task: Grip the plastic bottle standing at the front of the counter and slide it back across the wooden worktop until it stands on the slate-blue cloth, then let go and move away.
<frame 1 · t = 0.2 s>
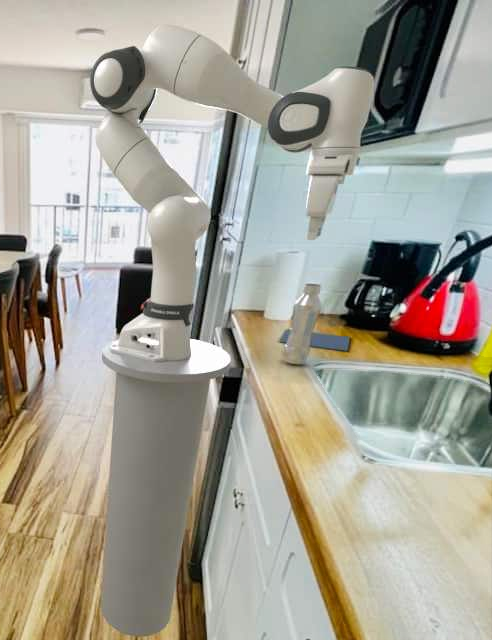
hand: (313, 238, 106), 31 cm above the worktop, tool pointing down, fingers open, 8 cm apart
plastic bottle: (293, 363, 127), on the worktop
cloth: (315, 340, 146), on the worktop
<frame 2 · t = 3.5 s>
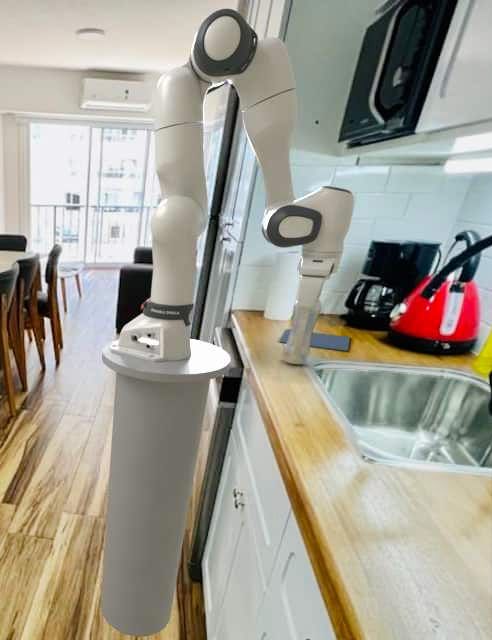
hand: (304, 321, 122), 11 cm above the worktop, tool pointing down, fingers closed on plastic bottle, 6 cm apart
plastic bottle: (293, 363, 127), on the worktop, touching gripper
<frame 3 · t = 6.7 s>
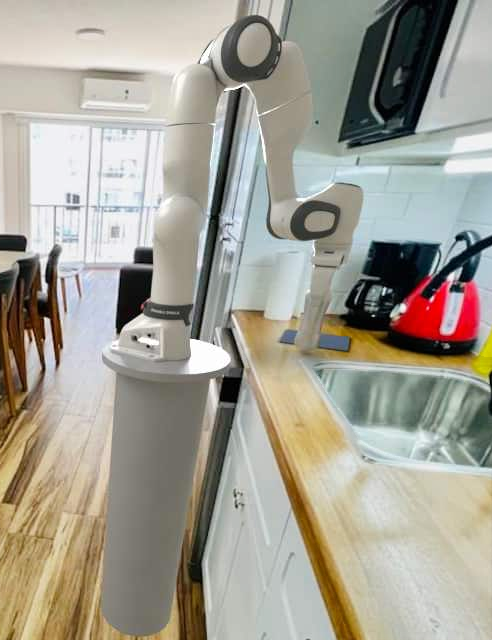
hand: (315, 309, 130), 12 cm above the worktop, tool pointing down, fingers closed on plastic bottle, 6 cm apart
plastic bottle: (304, 350, 135), point 1 cm above the worktop, touching gripper
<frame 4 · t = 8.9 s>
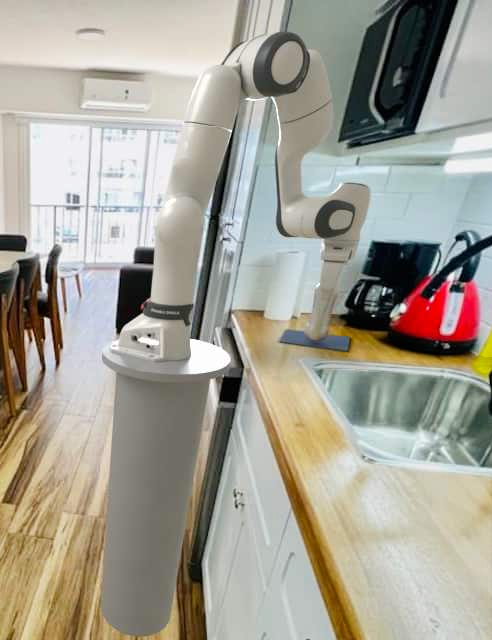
hand: (324, 302, 137), 12 cm above the worktop, tool pointing down, fingers closed on plastic bottle, 6 cm apart
plastic bottle: (313, 341, 143), point 1 cm above the worktop, touching gripper
when the fingers open (11 cm above the worktop, at t = 10.3 s): plastic bottle stays where it is, resting on cloth.
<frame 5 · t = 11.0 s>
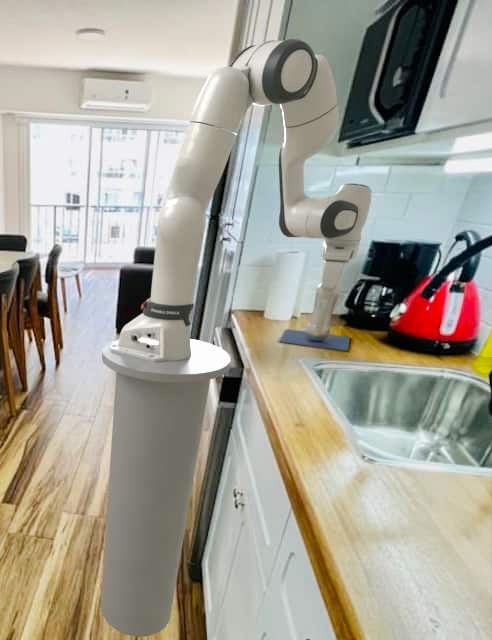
hand: (325, 301, 140), 12 cm above the worktop, tool pointing down, fingers open, 8 cm apart
plastic bottle: (314, 340, 146), resting on cloth
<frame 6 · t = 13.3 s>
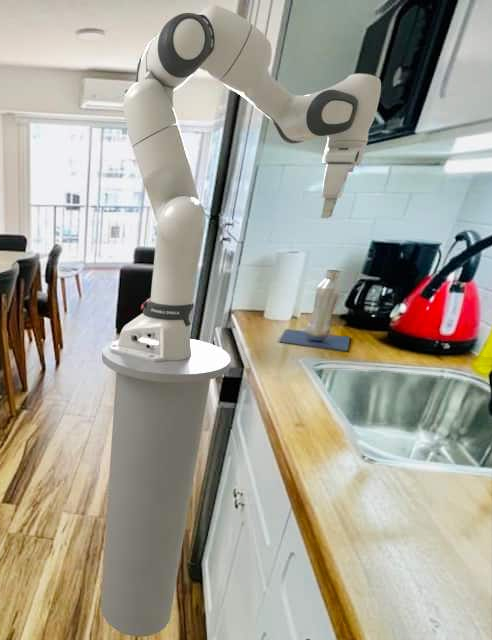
hand: (326, 217, 126), 34 cm above the worktop, tool pointing down, fingers open, 8 cm apart
nothing on the worktop moved.
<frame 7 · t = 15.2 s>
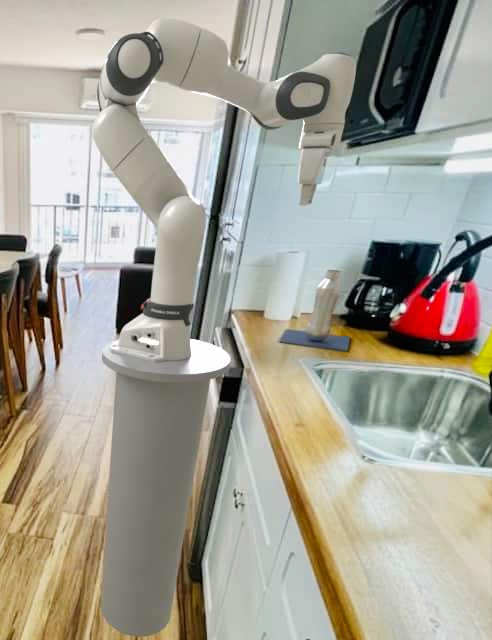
hand: (305, 204, 122), 37 cm above the worktop, tool pointing down, fingers open, 8 cm apart
nothing on the worktop moved.
at the end: plastic bottle inside the target area on the cloth (1.1 cm from its centre), point 0.1 cm above the cloth's base; plastic bottle tilted 0°; the gripper is holding nothing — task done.
